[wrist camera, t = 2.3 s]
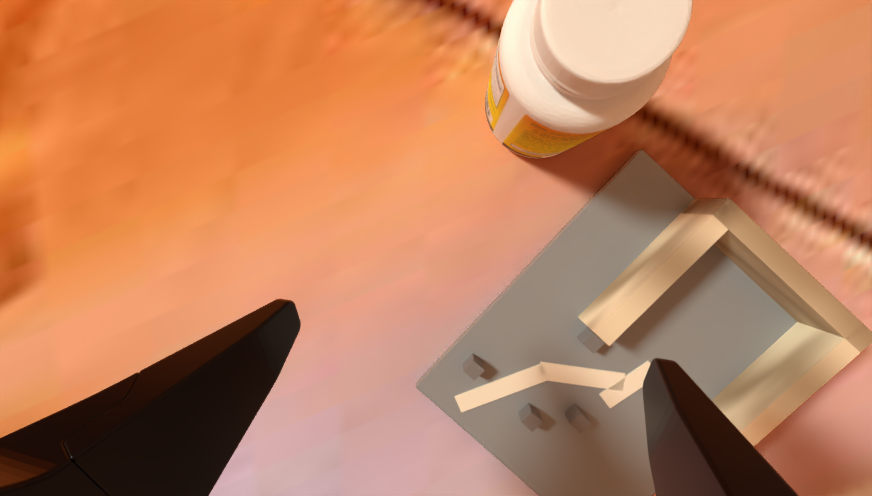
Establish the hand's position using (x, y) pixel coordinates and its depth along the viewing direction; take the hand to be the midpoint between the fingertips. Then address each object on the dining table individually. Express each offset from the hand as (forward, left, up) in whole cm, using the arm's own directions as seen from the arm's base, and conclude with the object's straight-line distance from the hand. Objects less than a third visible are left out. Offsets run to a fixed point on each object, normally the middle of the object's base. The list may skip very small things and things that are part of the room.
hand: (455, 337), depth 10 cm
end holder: (+6, -11, -12) cm, 18 cm away
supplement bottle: (+9, +3, -12) cm, 15 cm away
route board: (+2, -10, -12) cm, 16 cm away
